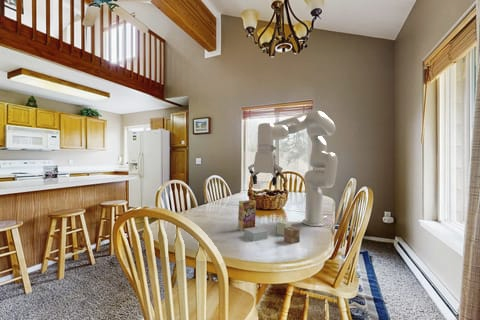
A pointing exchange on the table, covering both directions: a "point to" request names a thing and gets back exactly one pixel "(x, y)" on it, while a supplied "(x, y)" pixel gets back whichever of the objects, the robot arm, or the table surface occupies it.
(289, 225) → the sage block
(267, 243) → the table surface
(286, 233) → the walnut block
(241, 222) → the candy box
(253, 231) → the pedestal block
